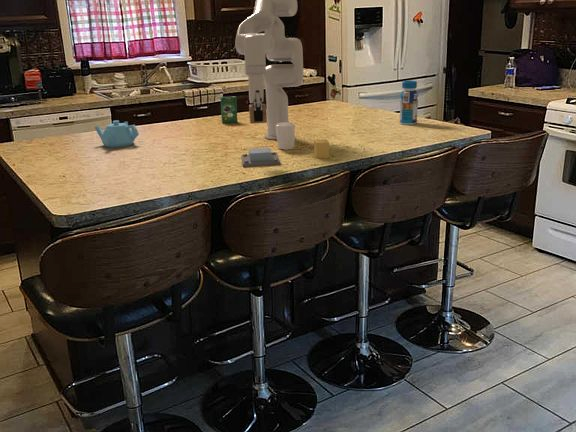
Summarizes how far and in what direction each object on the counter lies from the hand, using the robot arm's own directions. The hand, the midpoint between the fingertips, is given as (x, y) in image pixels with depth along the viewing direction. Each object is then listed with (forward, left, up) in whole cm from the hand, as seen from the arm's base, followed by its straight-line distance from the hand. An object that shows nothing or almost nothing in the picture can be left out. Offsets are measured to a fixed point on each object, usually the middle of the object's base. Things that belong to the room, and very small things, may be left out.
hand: (258, 119), depth 226 cm
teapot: (-46, -60, -16) cm, 77 cm away
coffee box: (-86, -10, -16) cm, 88 cm away
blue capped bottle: (-57, +75, -16) cm, 96 cm away
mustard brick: (-2, +24, -16) cm, 29 cm away
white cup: (-20, +12, -16) cm, 29 cm away
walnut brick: (0, 0, -1) cm, 1 cm away
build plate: (0, 0, -16) cm, 16 cm away
